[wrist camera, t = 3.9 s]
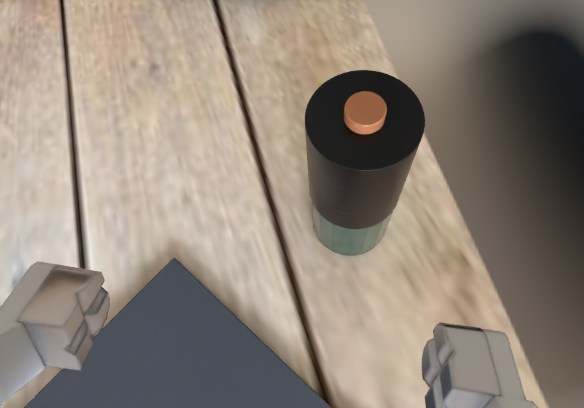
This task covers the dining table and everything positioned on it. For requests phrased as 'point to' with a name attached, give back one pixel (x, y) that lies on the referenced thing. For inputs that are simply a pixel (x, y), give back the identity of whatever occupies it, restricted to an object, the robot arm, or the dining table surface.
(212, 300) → the mat
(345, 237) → the glass
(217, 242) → the dining table surface
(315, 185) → the black canister with knob
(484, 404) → the robot arm
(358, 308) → the dining table surface
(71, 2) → the dining table surface
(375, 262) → the dining table surface
